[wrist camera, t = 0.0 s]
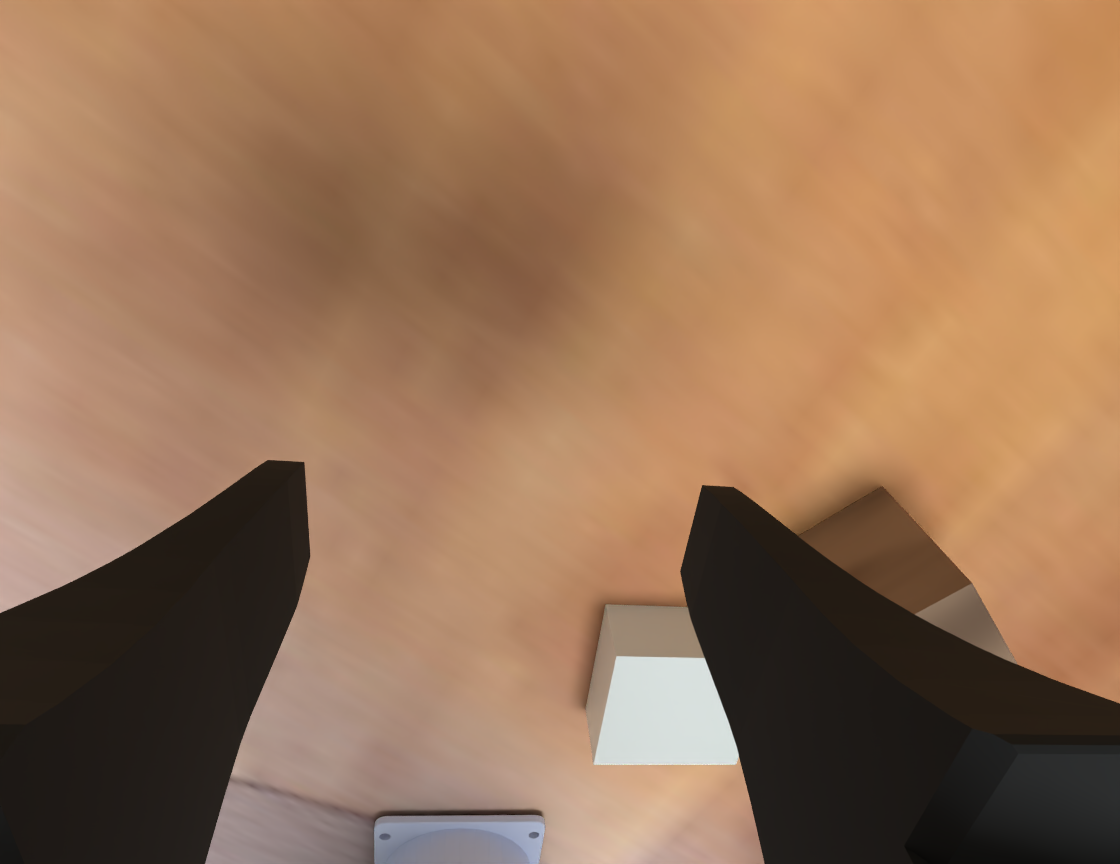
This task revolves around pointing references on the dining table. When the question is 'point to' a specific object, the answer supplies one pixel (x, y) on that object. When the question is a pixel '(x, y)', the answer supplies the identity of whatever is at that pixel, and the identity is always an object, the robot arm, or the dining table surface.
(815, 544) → the walnut block
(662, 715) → the ceramic slab
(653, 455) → the dining table surface
